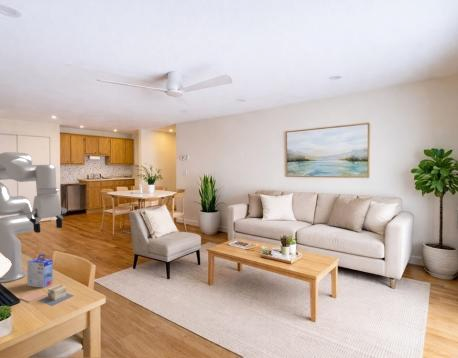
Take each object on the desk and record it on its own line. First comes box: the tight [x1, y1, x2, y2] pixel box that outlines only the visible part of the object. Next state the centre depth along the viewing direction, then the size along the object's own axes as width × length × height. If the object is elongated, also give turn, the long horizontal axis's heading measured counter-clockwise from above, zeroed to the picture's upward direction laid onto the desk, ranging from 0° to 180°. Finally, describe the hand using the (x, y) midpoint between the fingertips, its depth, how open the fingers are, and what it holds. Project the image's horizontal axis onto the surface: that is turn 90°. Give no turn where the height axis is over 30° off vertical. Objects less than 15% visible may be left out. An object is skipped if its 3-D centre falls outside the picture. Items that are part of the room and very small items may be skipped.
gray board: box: [37, 292, 75, 307], centre depth 121 cm, size 10×10×1 cm
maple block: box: [47, 284, 67, 300], centre depth 122 cm, size 5×5×4 cm
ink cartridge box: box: [26, 253, 54, 289], centre depth 133 cm, size 10×6×14 cm, turn 78°
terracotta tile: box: [19, 290, 47, 303], centre depth 121 cm, size 7×7×1 cm
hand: (48, 230), depth 124 cm, fingers open, 9 cm apart
